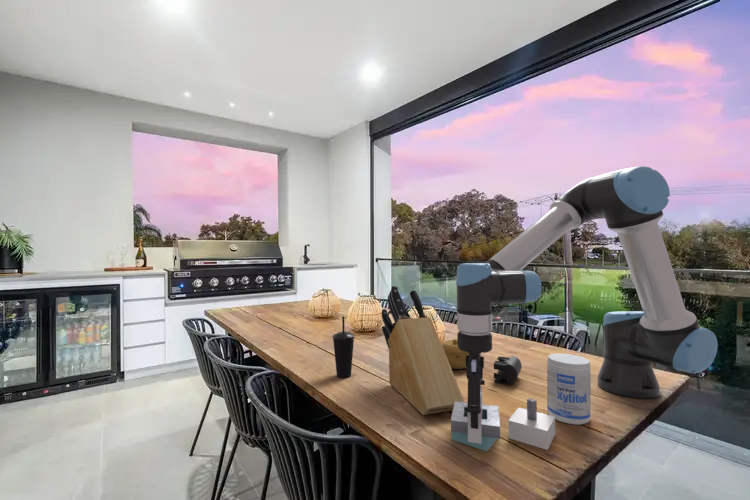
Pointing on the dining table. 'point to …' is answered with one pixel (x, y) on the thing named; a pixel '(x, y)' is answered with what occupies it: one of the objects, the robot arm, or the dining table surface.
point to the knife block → (418, 358)
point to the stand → (532, 426)
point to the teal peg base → (463, 438)
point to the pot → (454, 354)
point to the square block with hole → (488, 423)
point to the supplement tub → (568, 388)
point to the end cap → (507, 370)
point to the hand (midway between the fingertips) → (475, 426)
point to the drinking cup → (343, 352)
